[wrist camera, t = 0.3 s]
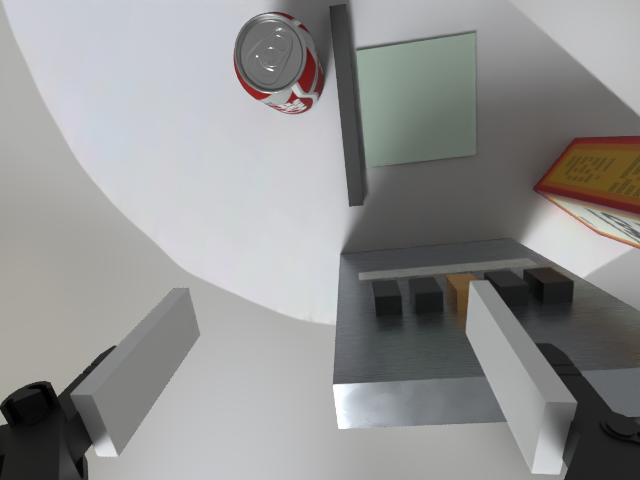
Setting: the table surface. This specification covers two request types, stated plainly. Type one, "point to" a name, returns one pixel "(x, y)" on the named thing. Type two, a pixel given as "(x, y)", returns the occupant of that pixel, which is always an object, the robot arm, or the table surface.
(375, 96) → the mat
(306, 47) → the soda can
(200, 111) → the table surface
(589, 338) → the breaker panel
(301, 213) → the table surface
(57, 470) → the robot arm
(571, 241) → the table surface
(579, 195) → the baking soda box
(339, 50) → the bar
